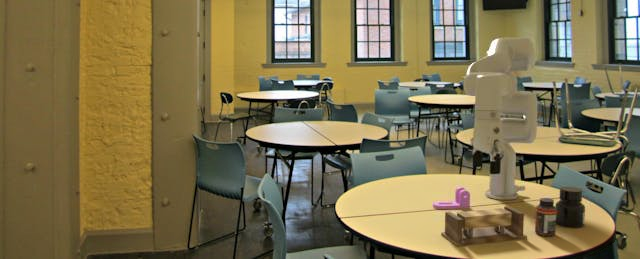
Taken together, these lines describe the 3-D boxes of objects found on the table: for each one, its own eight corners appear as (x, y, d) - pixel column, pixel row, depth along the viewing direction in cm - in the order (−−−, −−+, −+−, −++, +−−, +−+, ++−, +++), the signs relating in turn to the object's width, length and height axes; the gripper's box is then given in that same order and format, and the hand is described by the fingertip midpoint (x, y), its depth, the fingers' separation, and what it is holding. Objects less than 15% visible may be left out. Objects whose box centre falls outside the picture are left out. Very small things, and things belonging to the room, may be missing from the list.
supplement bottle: (531, 231, 165) (532, 197, 163) (548, 230, 165) (550, 196, 163) (540, 237, 159) (542, 202, 157) (559, 236, 159) (561, 201, 158)
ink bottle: (591, 227, 167) (593, 192, 165) (567, 229, 165) (569, 193, 164) (570, 218, 177) (572, 184, 175) (548, 220, 175) (550, 186, 173)
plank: (501, 220, 164) (502, 208, 163) (511, 225, 159) (511, 212, 159) (456, 224, 160) (456, 212, 160) (464, 229, 155) (465, 217, 155)
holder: (507, 227, 168) (508, 205, 167) (526, 238, 158) (528, 214, 157) (441, 235, 162) (441, 211, 161) (456, 246, 152) (457, 221, 151)
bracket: (464, 204, 195) (465, 186, 194) (469, 208, 190) (470, 190, 189) (431, 205, 194) (431, 187, 193) (435, 209, 189) (435, 191, 188)
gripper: (515, 118, 147) (513, 175, 150) (483, 111, 164) (481, 163, 166) (492, 119, 145) (490, 178, 148) (462, 112, 162) (460, 165, 165)
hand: (485, 170), depth 157 cm, fingers open, 9 cm apart
